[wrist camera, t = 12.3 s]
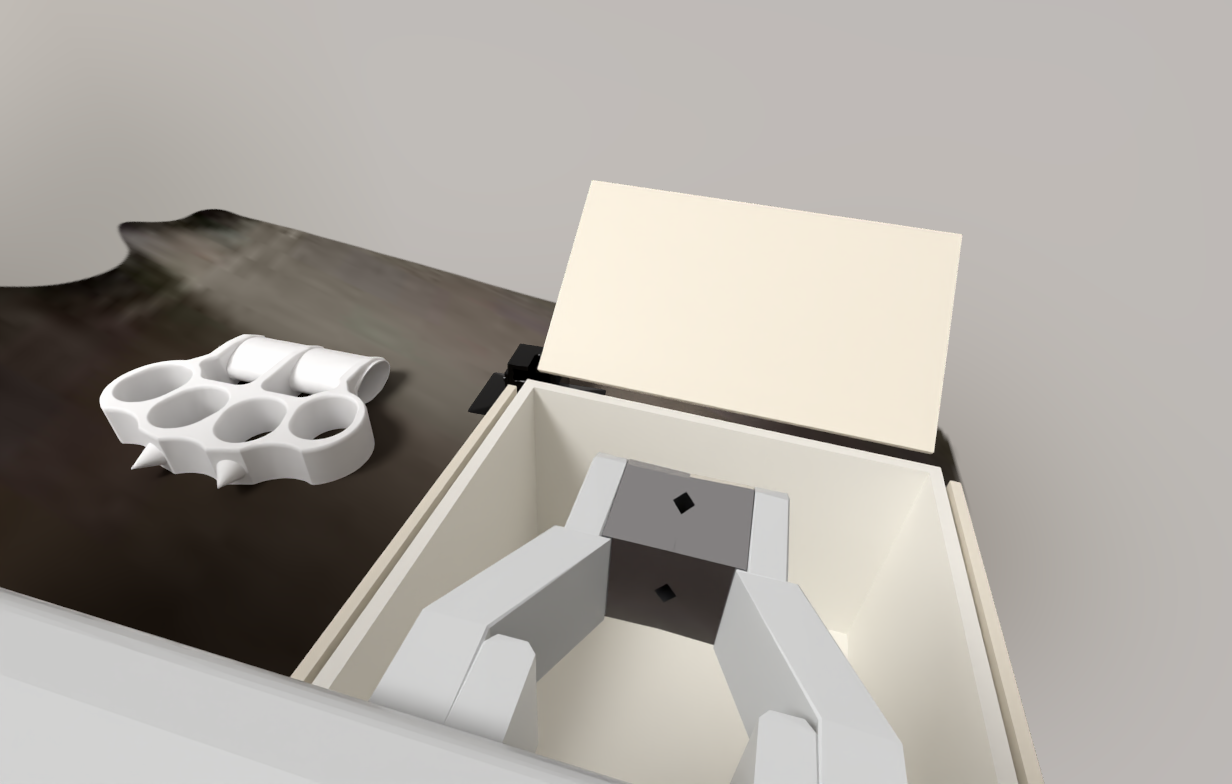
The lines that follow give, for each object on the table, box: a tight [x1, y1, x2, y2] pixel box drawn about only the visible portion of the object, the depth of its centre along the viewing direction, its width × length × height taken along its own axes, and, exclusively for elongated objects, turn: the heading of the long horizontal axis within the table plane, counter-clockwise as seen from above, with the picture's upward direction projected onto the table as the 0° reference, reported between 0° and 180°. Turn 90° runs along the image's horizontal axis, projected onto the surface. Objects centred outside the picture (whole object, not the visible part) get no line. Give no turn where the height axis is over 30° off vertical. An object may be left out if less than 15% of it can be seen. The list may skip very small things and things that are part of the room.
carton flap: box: [538, 180, 962, 454], centre depth 27 cm, size 17×10×1 cm
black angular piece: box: [468, 344, 606, 415], centre depth 45 cm, size 12×7×5 cm, turn 79°
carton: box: [290, 379, 1044, 784], centre depth 21 cm, size 19×21×12 cm
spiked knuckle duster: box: [100, 334, 390, 489], centre depth 42 cm, size 3×18×15 cm
